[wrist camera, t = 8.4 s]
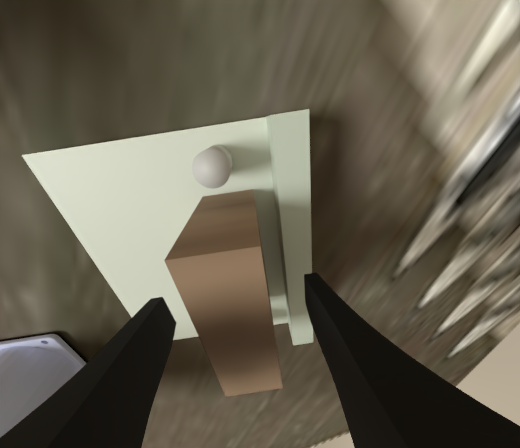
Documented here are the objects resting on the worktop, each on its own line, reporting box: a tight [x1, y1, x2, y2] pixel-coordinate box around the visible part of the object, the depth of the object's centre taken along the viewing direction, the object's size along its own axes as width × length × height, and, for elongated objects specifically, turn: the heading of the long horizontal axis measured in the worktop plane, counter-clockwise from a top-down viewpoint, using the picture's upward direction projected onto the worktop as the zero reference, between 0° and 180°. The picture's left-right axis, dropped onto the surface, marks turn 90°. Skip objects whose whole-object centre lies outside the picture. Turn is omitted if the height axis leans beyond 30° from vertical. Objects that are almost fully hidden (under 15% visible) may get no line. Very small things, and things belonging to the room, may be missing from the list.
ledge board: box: [22, 109, 313, 345], centre depth 13 cm, size 14×16×4 cm
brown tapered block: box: [164, 189, 283, 397], centre depth 11 cm, size 9×3×6 cm, turn 8°
